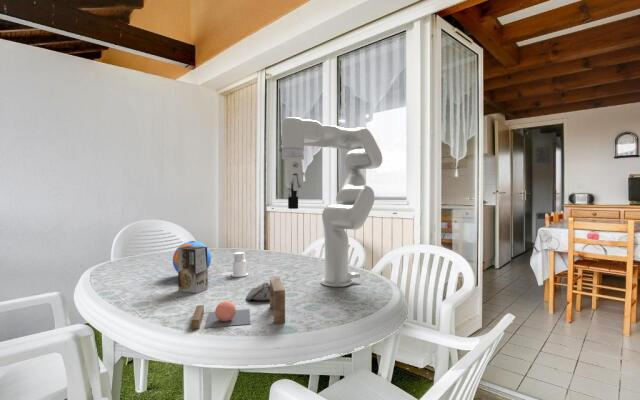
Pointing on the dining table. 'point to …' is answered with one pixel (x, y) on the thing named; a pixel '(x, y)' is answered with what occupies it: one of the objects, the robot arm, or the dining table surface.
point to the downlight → (239, 265)
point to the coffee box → (192, 269)
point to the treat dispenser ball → (190, 243)
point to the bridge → (277, 300)
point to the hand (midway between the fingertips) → (293, 208)
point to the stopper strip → (197, 317)
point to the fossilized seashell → (260, 293)
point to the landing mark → (239, 319)
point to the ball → (225, 311)
